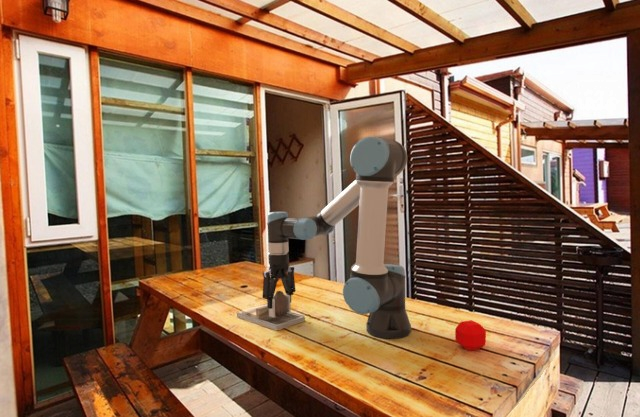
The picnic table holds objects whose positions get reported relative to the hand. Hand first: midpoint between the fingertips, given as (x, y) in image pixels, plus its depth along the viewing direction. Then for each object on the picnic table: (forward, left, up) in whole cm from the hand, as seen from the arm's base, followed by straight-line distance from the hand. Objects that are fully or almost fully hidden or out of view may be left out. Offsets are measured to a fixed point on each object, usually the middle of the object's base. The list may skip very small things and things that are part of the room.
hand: (279, 314), depth 148 cm
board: (+6, 0, -3) cm, 7 cm away
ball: (-63, -22, -3) cm, 67 cm away
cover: (+10, 0, -1) cm, 10 cm away
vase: (0, 0, 0) cm, 0 cm away
